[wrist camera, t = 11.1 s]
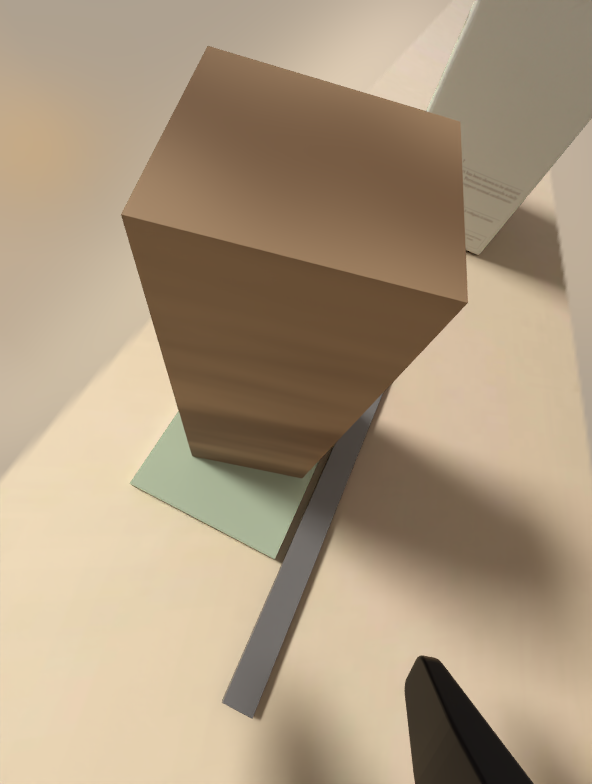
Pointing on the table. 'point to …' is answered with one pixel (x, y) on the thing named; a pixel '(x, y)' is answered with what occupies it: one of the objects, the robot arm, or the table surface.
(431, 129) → the walnut post
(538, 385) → the table surface
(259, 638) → the charcoal strip
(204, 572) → the table surface
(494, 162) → the supplement box
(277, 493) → the mat
